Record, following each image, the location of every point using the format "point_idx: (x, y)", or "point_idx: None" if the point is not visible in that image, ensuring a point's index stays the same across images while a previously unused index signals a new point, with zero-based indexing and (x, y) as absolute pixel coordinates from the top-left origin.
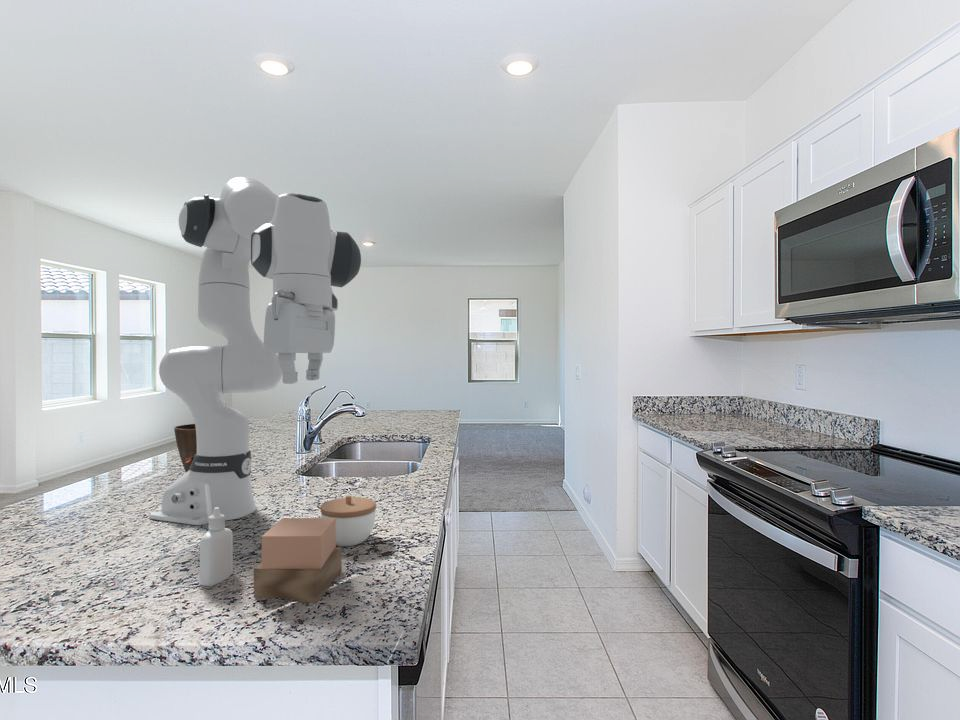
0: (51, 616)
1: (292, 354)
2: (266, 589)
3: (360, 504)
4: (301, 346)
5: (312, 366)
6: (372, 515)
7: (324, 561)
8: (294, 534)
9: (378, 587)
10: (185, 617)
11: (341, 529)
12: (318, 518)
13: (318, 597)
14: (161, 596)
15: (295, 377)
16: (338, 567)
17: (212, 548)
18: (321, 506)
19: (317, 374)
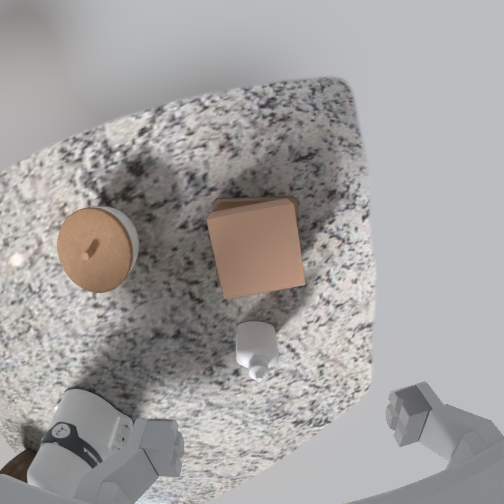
0: (337, 397)
1: (501, 438)
2: None
3: (89, 231)
4: (496, 468)
5: (144, 476)
6: (97, 207)
7: (270, 201)
8: (292, 245)
9: (240, 139)
10: (335, 306)
11: (136, 239)
12: (214, 245)
13: (285, 196)
14: (297, 353)
15: (420, 395)
16: (224, 199)
17: (275, 346)
18: (113, 288)
19: (156, 432)
